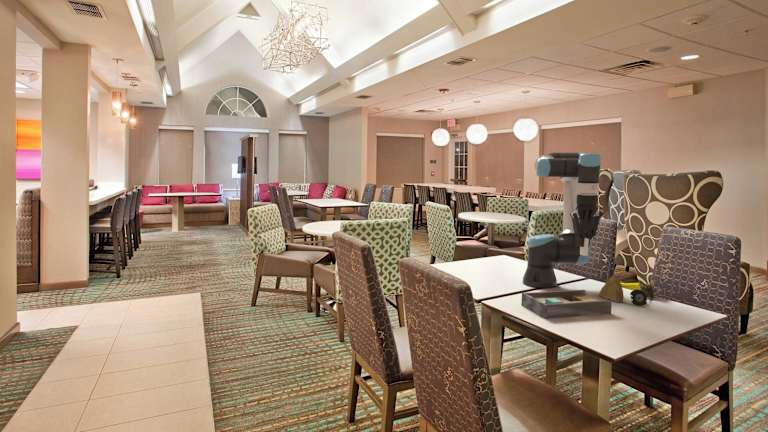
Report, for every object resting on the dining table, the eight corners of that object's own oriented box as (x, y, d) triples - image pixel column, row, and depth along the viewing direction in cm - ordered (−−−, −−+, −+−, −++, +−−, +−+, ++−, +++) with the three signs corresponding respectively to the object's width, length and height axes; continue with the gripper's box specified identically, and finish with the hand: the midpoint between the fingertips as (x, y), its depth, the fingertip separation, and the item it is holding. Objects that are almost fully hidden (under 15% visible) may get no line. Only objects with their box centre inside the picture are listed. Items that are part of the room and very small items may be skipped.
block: (554, 310, 171) (544, 311, 170) (554, 297, 170) (545, 298, 170) (562, 314, 166) (552, 315, 165) (562, 301, 166) (553, 302, 165)
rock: (632, 298, 181) (626, 289, 191) (619, 281, 181) (614, 273, 190) (607, 311, 185) (603, 301, 195) (594, 294, 185) (591, 285, 194)
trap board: (521, 305, 178) (521, 293, 178) (583, 301, 184) (584, 289, 184) (544, 318, 163) (544, 305, 162) (611, 313, 169) (611, 300, 168)
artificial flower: (624, 306, 183) (620, 282, 185) (647, 303, 197) (643, 280, 199) (647, 305, 176) (643, 280, 178) (669, 302, 190) (665, 278, 192)
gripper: (578, 195, 166) (574, 257, 169) (609, 194, 169) (605, 256, 172) (566, 193, 173) (562, 253, 177) (595, 193, 176) (592, 252, 179)
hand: (583, 254), depth 174 cm, fingers closed
